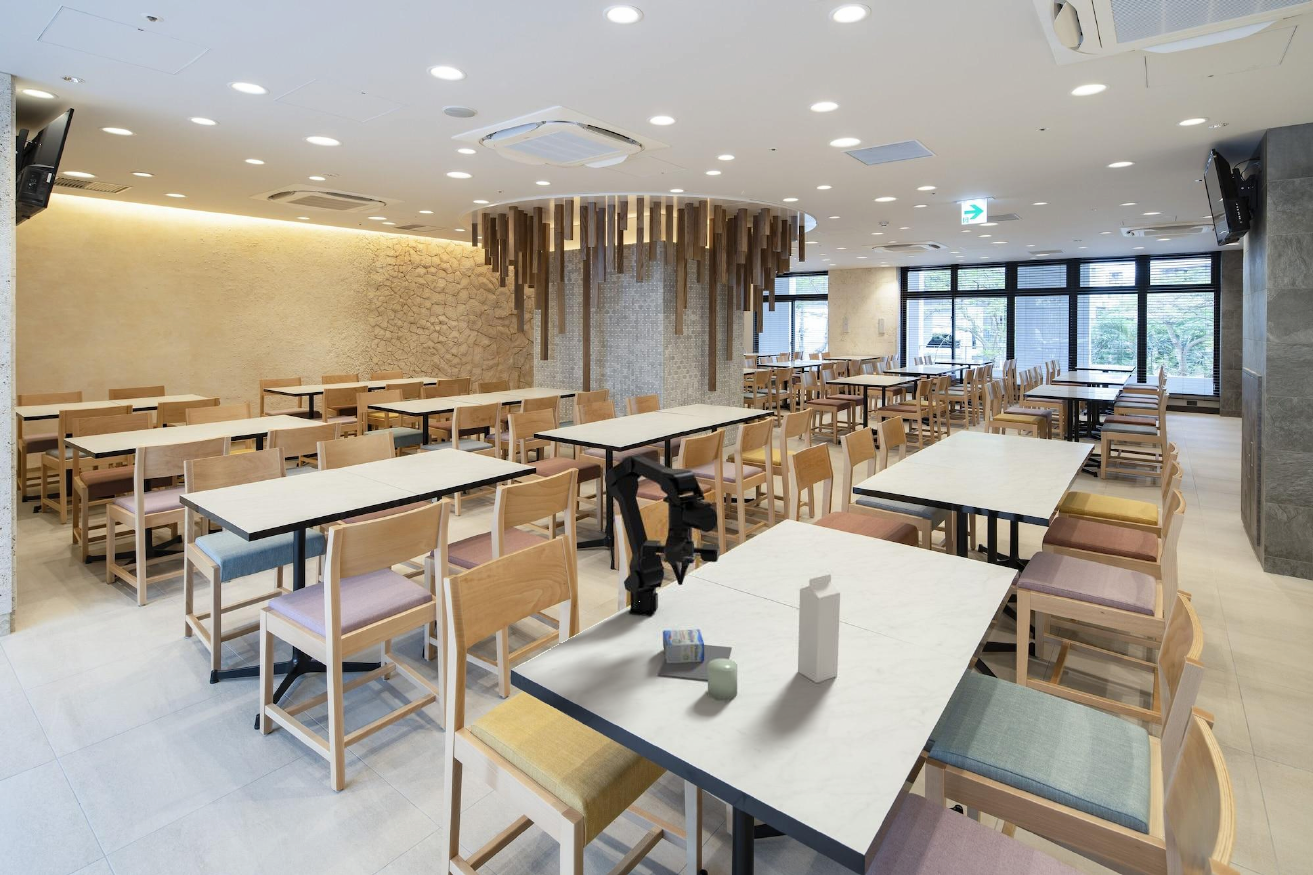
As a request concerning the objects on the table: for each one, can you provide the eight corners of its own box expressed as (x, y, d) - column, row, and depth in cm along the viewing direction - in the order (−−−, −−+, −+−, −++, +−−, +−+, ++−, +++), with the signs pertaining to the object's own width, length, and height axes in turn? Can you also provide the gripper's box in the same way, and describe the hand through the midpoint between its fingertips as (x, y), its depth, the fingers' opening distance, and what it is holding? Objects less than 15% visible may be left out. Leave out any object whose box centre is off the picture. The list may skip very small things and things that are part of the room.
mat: (657, 675, 149) (657, 674, 149) (672, 642, 164) (672, 641, 164) (722, 682, 146) (722, 681, 146) (731, 648, 161) (731, 647, 161)
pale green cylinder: (705, 698, 139) (705, 670, 138) (710, 683, 145) (710, 657, 144) (735, 702, 138) (735, 674, 137) (738, 686, 144) (738, 659, 143)
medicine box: (662, 630, 160) (699, 627, 161) (662, 648, 161) (699, 645, 162) (665, 645, 152) (704, 643, 153) (666, 664, 153) (704, 661, 154)
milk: (837, 676, 148) (841, 578, 144) (816, 683, 145) (819, 583, 141) (817, 664, 153) (821, 569, 150) (796, 671, 150) (800, 574, 147)
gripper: (634, 529, 161) (635, 593, 163) (713, 534, 157) (713, 599, 159) (645, 517, 171) (646, 577, 174) (720, 521, 167) (720, 582, 170)
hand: (680, 584), depth 169 cm, fingers closed
